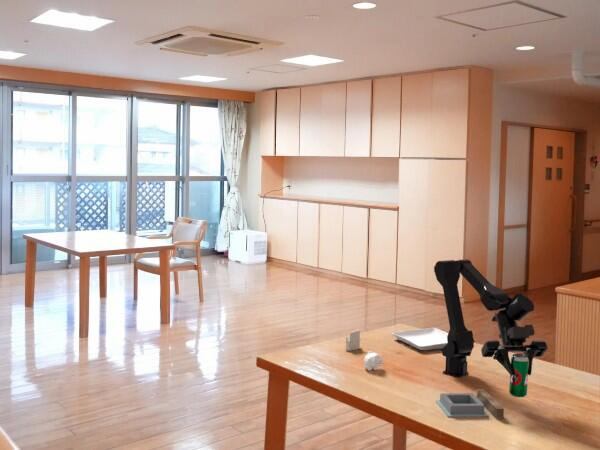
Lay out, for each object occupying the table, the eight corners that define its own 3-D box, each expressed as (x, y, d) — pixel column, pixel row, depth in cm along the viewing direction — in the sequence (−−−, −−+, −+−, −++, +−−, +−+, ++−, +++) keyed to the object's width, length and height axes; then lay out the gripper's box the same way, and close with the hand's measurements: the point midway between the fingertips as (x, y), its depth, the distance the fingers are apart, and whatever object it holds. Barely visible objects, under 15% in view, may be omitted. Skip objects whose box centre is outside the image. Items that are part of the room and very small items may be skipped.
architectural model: (342, 350, 254) (343, 331, 254) (355, 346, 259) (355, 328, 258) (349, 352, 252) (349, 333, 251) (361, 348, 257) (362, 330, 256)
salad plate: (419, 354, 250) (420, 345, 250) (390, 339, 270) (390, 331, 269) (465, 348, 259) (466, 340, 258) (434, 335, 278) (434, 327, 278)
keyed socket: (435, 401, 201) (436, 392, 200) (474, 401, 202) (474, 391, 201) (447, 417, 189) (448, 407, 188) (488, 416, 190) (489, 406, 189)
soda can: (528, 398, 193) (530, 359, 192) (509, 397, 194) (512, 357, 193) (525, 392, 198) (528, 353, 197) (508, 391, 199) (510, 352, 198)
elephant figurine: (387, 371, 229) (387, 354, 228) (366, 373, 226) (366, 356, 225) (378, 365, 235) (378, 349, 234) (357, 367, 232) (358, 350, 232)
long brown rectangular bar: (476, 398, 204) (477, 389, 203) (483, 398, 204) (483, 389, 204) (496, 419, 188) (496, 408, 188) (503, 419, 188) (503, 408, 188)
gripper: (486, 314, 197) (498, 362, 187) (547, 314, 198) (562, 362, 189) (476, 333, 205) (487, 379, 196) (534, 333, 207) (547, 379, 197)
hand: (521, 374), depth 194 cm, fingers closed on soda can, 5 cm apart
